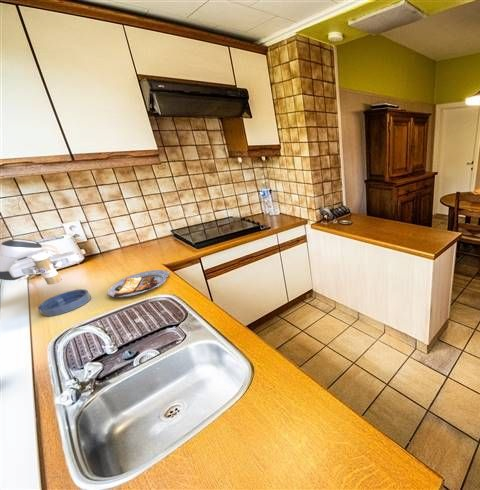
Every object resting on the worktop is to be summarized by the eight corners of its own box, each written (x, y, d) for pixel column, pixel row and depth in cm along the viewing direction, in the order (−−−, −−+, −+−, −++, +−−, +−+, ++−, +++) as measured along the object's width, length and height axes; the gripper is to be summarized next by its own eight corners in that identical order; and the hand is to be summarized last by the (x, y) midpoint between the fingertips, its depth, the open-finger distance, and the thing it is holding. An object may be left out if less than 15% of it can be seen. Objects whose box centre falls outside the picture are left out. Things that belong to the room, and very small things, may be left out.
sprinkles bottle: (45, 286, 114) (27, 258, 109) (50, 281, 118) (33, 254, 112) (59, 283, 116) (42, 255, 111) (64, 278, 120) (48, 251, 114)
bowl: (42, 321, 110) (37, 314, 109) (42, 307, 120) (38, 300, 118) (93, 303, 121) (89, 297, 119) (89, 291, 130) (86, 285, 129)
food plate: (161, 293, 126) (158, 287, 125) (99, 306, 119) (96, 299, 117) (174, 270, 148) (172, 264, 146) (123, 279, 140) (120, 274, 139)
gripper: (80, 258, 130) (83, 266, 122) (16, 274, 116) (13, 285, 108) (74, 246, 128) (76, 253, 119) (7, 262, 114) (4, 271, 105)
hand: (46, 268), depth 114 cm, fingers closed on sprinkles bottle, 4 cm apart
